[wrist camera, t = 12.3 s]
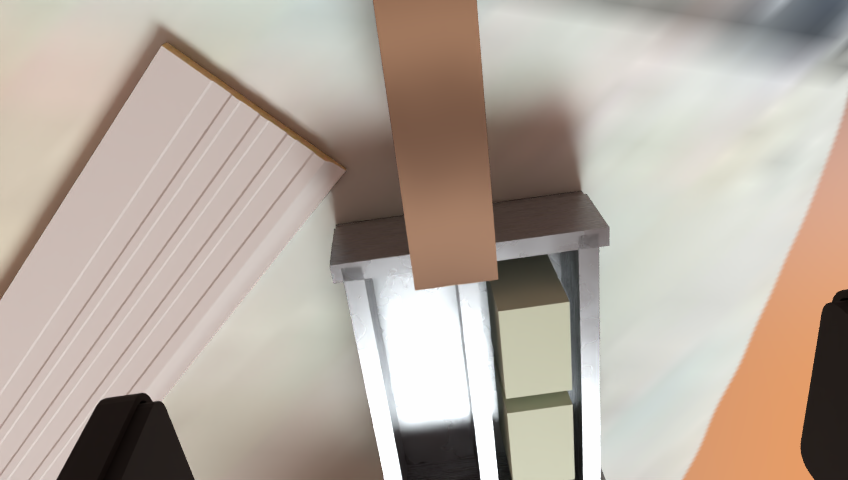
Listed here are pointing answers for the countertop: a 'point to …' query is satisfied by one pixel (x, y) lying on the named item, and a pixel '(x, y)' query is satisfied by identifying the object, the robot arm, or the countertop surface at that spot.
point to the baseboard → (147, 255)
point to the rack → (465, 340)
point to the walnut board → (439, 137)
